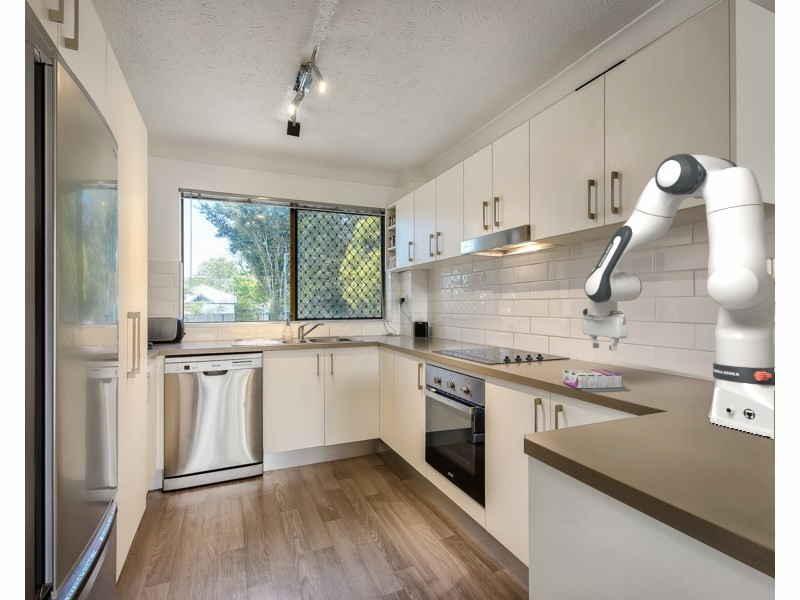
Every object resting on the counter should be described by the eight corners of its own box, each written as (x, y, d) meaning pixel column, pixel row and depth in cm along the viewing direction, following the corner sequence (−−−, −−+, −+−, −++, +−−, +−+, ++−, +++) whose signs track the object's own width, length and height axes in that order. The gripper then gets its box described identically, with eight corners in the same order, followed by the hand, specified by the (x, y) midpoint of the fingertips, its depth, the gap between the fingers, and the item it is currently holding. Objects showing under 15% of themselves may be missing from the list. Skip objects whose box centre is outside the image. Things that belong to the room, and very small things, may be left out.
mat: (630, 390, 135) (630, 389, 135) (589, 392, 133) (589, 391, 133) (603, 383, 149) (603, 382, 149) (565, 384, 146) (565, 383, 146)
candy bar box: (604, 382, 149) (562, 382, 148) (604, 369, 149) (562, 369, 148) (622, 388, 137) (576, 388, 137) (622, 374, 137) (576, 374, 137)
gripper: (632, 311, 132) (633, 352, 132) (593, 310, 152) (594, 346, 152) (615, 311, 131) (616, 352, 131) (578, 310, 151) (579, 346, 151)
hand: (604, 349), depth 142 cm, fingers open, 8 cm apart
